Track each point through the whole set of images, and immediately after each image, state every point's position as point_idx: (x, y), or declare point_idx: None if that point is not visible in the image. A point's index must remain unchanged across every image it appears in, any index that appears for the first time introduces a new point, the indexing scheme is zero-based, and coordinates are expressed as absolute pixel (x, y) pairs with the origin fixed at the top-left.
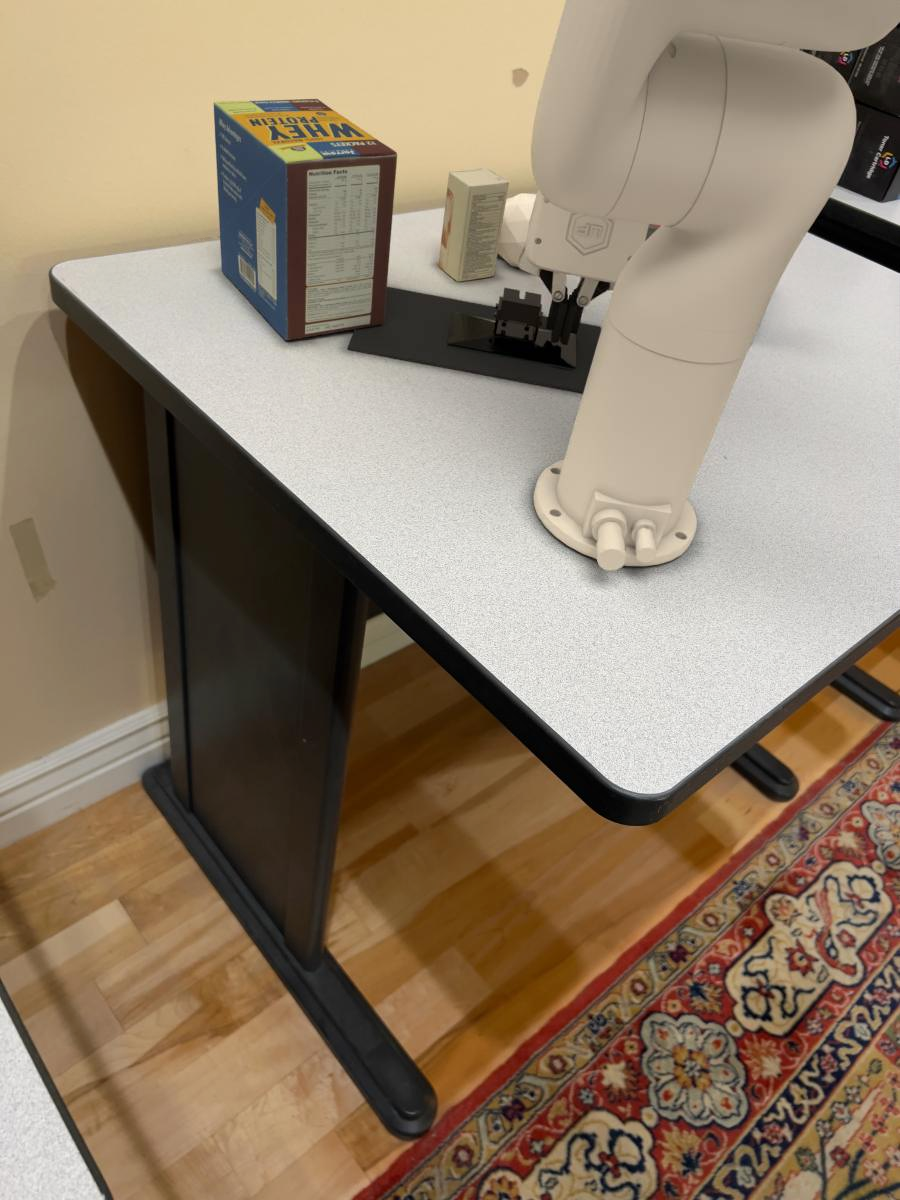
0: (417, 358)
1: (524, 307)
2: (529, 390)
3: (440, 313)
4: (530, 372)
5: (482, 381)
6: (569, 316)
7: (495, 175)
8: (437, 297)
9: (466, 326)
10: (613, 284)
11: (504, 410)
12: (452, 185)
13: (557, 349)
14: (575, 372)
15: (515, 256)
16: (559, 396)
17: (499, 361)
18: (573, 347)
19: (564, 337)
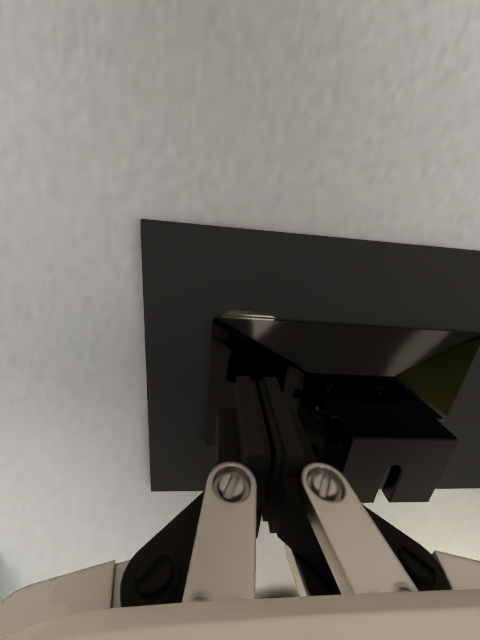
0: None
1: (391, 431)
2: (329, 203)
3: None
4: (319, 276)
5: (432, 216)
6: (260, 425)
7: None
8: (440, 484)
9: (430, 403)
10: (101, 600)
11: (415, 72)
12: None
13: (252, 372)
14: (212, 306)
15: None
16: (258, 193)
17: (381, 303)
18: (213, 398)
19: (250, 385)
